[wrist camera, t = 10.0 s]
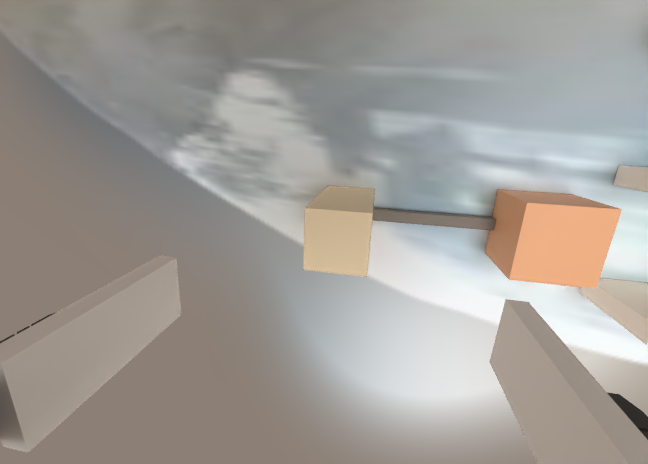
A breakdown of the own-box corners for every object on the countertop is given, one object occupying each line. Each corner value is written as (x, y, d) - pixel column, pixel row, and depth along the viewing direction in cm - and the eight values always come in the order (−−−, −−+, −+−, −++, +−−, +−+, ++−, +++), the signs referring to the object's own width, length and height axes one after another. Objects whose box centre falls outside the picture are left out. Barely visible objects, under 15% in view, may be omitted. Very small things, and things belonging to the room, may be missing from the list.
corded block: (328, 178, 31) (305, 196, 21) (571, 194, 28) (672, 224, 18) (325, 237, 32) (302, 279, 23) (553, 259, 29) (636, 317, 20)
